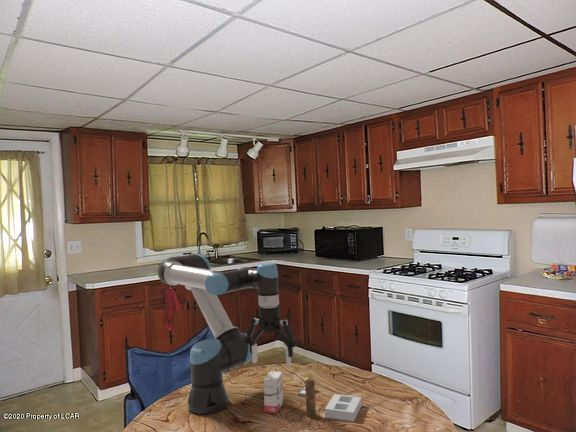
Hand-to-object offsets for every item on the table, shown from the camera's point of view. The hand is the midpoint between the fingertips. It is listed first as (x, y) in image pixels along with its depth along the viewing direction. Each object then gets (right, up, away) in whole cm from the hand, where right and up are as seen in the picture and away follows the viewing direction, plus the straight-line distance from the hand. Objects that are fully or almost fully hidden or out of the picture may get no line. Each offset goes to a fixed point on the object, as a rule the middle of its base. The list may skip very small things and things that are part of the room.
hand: (271, 364), depth 151 cm
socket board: (+26, -15, -6) cm, 30 cm away
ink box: (+1, -16, 0) cm, 16 cm away
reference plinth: (+13, -15, +12) cm, 23 cm away
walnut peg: (+14, -15, -8) cm, 22 cm away
